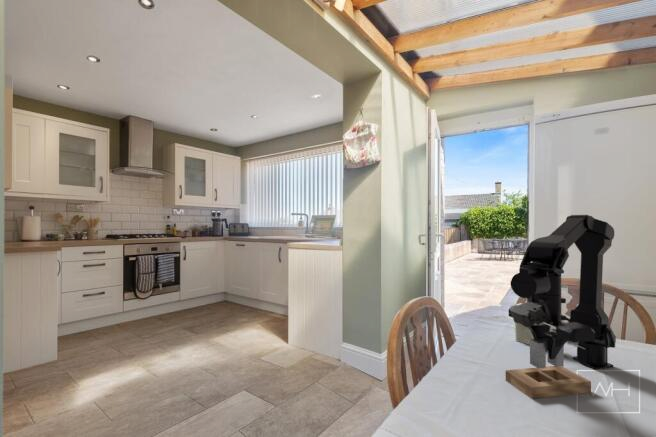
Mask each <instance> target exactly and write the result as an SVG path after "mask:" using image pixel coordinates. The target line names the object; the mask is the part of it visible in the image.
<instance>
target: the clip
mask: <svg viewBox="0 0 656 437" xmlns="http://www.w3.org/2000/svg"><path fill="white" fill-rule="evenodd" d="M564 345H565V344H564ZM564 345H563V347H562V348H561V350H560V351H559V353H558V354H557V356H556V358H555V359H552V360H551V359H550V358H549V353H548V338H540V339H530V345H529V365H532V366H533V367H534V368H538V369H540V368H546V367H547V363H549V364H551V366H556V367H560V366H562V367H564V366H565V365H564V362H565V358H564V357H565V355H564V353H565V352H564V351H565V346H564ZM546 357H547V358H546Z"/></svg>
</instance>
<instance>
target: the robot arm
mask: <svg viewBox="0 0 656 437" xmlns="http://www.w3.org/2000/svg"><path fill="white" fill-rule="evenodd" d="M614 238H615V229H614V227H613V226H612V225H611V224H610V223H608V221H607V222H606V221H603V220H600V219H597V218H595V217H593V216H592V215H589V214H570V215H568V216H567V217H566V219H565V221H564V222H562V223H561V224H560V225H559V226H558V227H557V228H556V229H554V231H552V232H551V234H549V235H547V236H543V237H537V238H535V239H534V240H532V241H531V242H530V243H529V244H528V246H527V247H526V249H525V252H524V254H523V257H522V260H521V262H520V264H519V268H518V269H519V272H518V273H515V274H514V275H513V276H512V278H511V280H510V288H511V290H512V291H513V293H514V294H515V295H516V296H518V297H520V298H523V299H527V300H526V302H524V303H523V302H521V303H522V304H520V305H516V306H515V305H510V307H509V308H508V317H510V318H512V319H513V321H514V324H515V323H519V324H521V325H523V326H525V327H527V328H528V329H529V330H530V331H531V333H532V335H533V337H534V339H540V338H548V353H549V358H550V359H551V360H552V359H555V358H556V356H557V354H558V353H559V351H560V350H561V348H562V347H563V345H565V344H566V343H567V341H568V342H571V343H574V342H576V343H577V346H576V356H572V360H575V361H577V362H579V363H581V364H583V365H585V366H588V367H590V368H592V369H594V370H599V369H609V368H614V364H612V363H609V362H608V354H609V353H608V352H609V351H608V349H609V348H616V343H617V340H616V338H617V336H616V335H615V333H614V331H613V329H612V327H611V325H610V319H609V316H608V314H607V313H606V312H605V310H604V309H603V308H602V295H603V294H602V293H603V266H604V264H603V263H604V254H605V253H606V252H607V251H608V250H609V249H610V248H611V247H612V243H613V240H614ZM573 244H574V245H575V246H576V248H577V250H578V251H579V252H580V268H579V269H580V272H579V273H580V274H579V275H580V276H579V292H578V293H579V296H578V297H579V298H578V305H576V306H575V307H574V309H571V310H570V312H569V314H570V315H569V317H570V319H569V323H562V322H561V321H562V320H566V316H564V315H561V313H562V304H566V303H567V298H565V297H562V275H563V274H564V273H565V270H564V269H563V268H564V266H565V265H566V262H567V261H568V259H569V257H570V255H569V251H568V250H569V248H571V247H572V246H573ZM550 327H551V329H550ZM548 353H547V354H548Z"/></svg>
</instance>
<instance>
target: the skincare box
mask: <svg viewBox="0 0 656 437" xmlns="http://www.w3.org/2000/svg"><path fill="white" fill-rule="evenodd" d="M522 303H523V302H519V303H516V304H514V306H516V305H520V304H522ZM514 326H515V328H514V329H515V341H516V342H519V343H522V344H526V345H529V346H530V339H534V337H533V335H532V333H531V331H530V330H529V329H528V328H527V327H525V326H523V325H521V324H519V323H515V322H514Z"/></svg>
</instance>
